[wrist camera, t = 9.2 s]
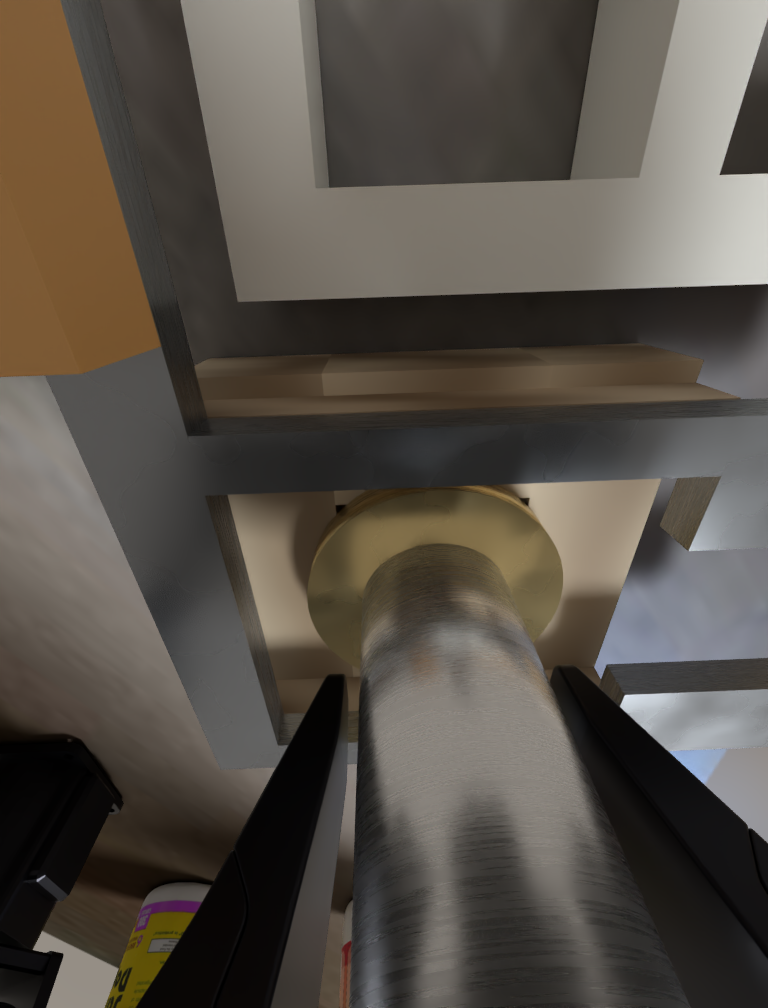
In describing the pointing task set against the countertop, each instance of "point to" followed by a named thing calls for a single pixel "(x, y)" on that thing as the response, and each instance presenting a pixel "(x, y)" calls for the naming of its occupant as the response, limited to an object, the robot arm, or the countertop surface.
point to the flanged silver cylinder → (472, 769)
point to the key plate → (290, 417)
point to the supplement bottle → (154, 939)
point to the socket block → (558, 506)
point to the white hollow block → (498, 205)
